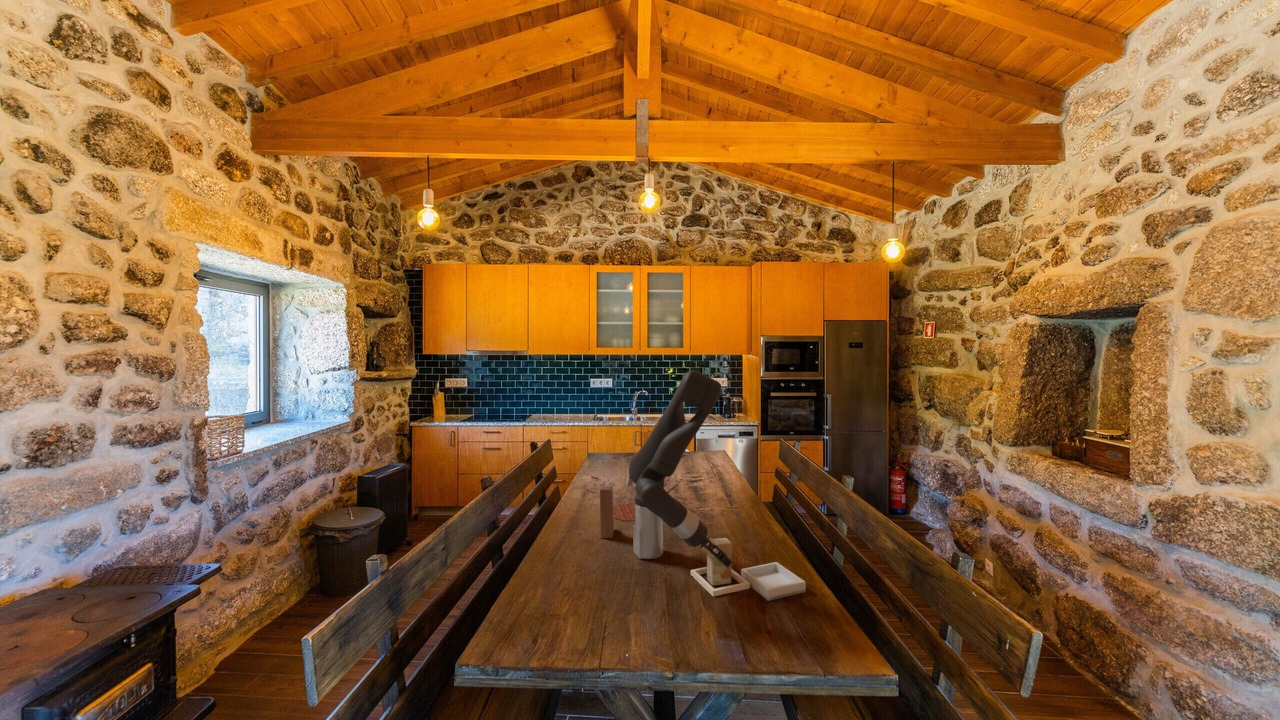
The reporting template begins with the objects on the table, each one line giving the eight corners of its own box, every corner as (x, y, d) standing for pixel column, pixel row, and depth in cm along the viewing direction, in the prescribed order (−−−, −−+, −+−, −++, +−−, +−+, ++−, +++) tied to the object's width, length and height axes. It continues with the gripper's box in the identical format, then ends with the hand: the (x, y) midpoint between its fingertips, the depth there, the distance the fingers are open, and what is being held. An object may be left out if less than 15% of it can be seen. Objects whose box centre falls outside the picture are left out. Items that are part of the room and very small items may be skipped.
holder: (713, 596, 140) (713, 591, 140) (690, 574, 153) (690, 569, 153) (749, 588, 144) (749, 583, 144) (724, 567, 157) (724, 563, 157)
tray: (768, 600, 137) (768, 590, 137) (741, 579, 150) (741, 569, 150) (805, 592, 142) (805, 581, 141) (776, 571, 154) (776, 561, 154)
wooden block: (602, 529, 191) (601, 482, 190) (613, 529, 191) (613, 482, 190) (600, 538, 182) (599, 489, 181) (612, 538, 182) (612, 489, 181)
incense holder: (604, 507, 217) (604, 481, 217) (671, 501, 223) (671, 477, 222) (611, 524, 196) (610, 496, 196) (684, 518, 202) (684, 491, 202)
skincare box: (712, 586, 146) (712, 545, 145) (706, 579, 150) (706, 539, 149) (732, 583, 147) (732, 542, 147) (726, 576, 152) (725, 536, 151)
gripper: (708, 524, 138) (745, 560, 143) (685, 508, 152) (720, 541, 157) (691, 546, 137) (729, 581, 142) (669, 528, 150) (705, 561, 155)
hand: (724, 560), depth 149 cm, fingers closed on skincare box, 4 cm apart
